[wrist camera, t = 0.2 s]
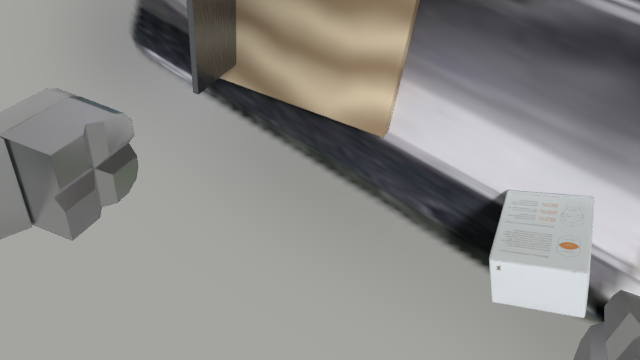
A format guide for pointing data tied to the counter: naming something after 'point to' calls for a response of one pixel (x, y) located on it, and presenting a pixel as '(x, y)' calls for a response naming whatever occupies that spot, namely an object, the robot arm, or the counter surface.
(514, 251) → the small box
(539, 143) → the counter surface
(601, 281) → the counter surface
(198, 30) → the bookend
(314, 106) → the shelf board
